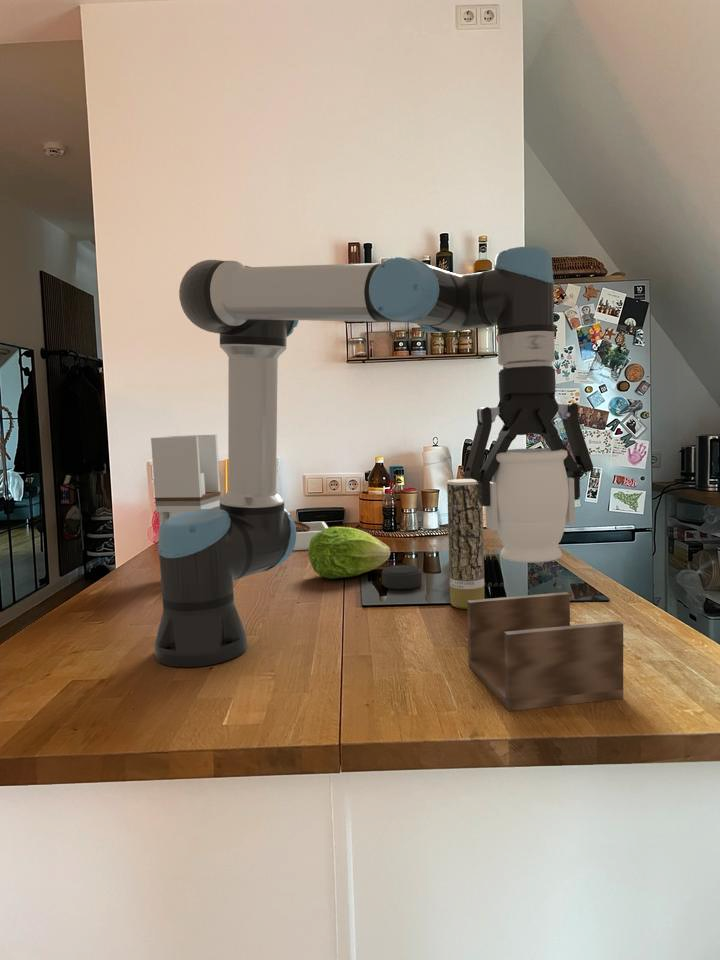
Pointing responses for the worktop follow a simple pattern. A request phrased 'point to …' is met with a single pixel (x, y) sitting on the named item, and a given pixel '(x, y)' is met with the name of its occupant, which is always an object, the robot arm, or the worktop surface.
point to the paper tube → (465, 542)
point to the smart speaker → (401, 577)
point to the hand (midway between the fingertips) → (530, 526)
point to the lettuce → (345, 552)
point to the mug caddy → (308, 535)
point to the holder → (543, 652)
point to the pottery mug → (301, 527)
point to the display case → (185, 474)
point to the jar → (531, 503)
